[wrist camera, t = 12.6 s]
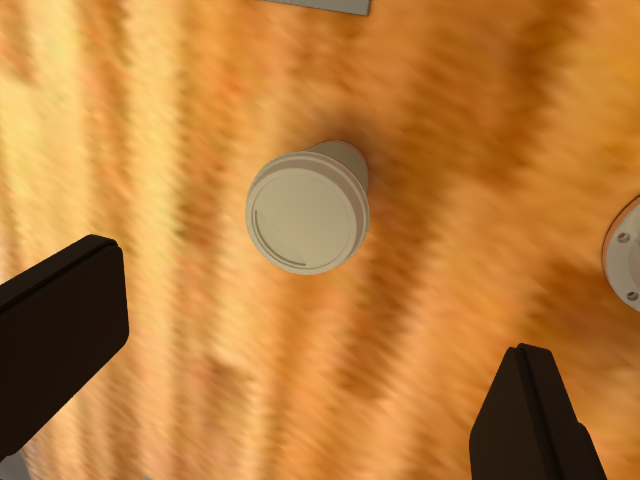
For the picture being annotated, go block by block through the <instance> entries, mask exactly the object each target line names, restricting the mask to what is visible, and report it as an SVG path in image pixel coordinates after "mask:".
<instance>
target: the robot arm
mask: <svg viewBox="0 0 640 480" xmlns="http://www.w3.org/2000/svg"><path fill="white" fill-rule="evenodd" d="M622 233H623V234H622ZM620 234H622V235H620ZM619 235H620V236H619ZM602 264H603V269H604V274H605V276H606V278H607V280H608V283H609V285H610V286H611V287H612V289H613V290H614V291H615V293H616V294H617V295H618V296H619V298H620V299H621V300H622V301H623V302H624V303H626V304H627V305H629V306H630V307H632V308H633V309H635V310H636V311H638V312H640V197H638V198H637V199H636V200H635V201H633V202H632V203H631V204H630V205H629V206H628V207H626V208H625V209H624V211H623V212H622V213H621V214H620V215H619V217H618V218H617V219H616V220H615V221H614V223H613V225H612V227H611V229H610V230H609V232H608V234H607V237H606V240H605V243H604V246H603V254H602ZM128 336H129V322H128V310H127V298H126V286H125V274H124V262H123V252H122V249H121V248H120V247H118V244H117V242H116V241H115V240H113V239H110V238H106V237H102V236H98V235H93V234H90V235H87V236H85V237H84V238H82V239H80V240H78V241H77V242H75V243H73V244H71V245H70V246H68V247H66V248H64V249H63V250H61V251H59V252H57V253H56V254H54V255H52V256H50V257H49V258H47V259H45V260H43V261H42V262H40V263H38V264H36V265H35V266H33V267H31V268H29V269H28V270H26V271H24V272H22V273H21V274H19V275H17V276H15V277H14V278H12V279H10V280H8V281H7V282H5V283H3V284H1V285H0V462H1V461H2V460H3V459H4V458H5V457H6V456H10V455H13V454H14V453H16V452H17V451H19V450H20V449H21V448H22V447H23V446H24V445H25V444H26V443H27V442H28V441H29V440H30V439H31V438H32V437H33V436H34V435H35V434H36V433H37V432H38V431H39V430H40V429H41V428H42V427H43V426H44V425H45V424H46V423H47V422H48V421H49V420H50V419H51V418H52V417H53V416H54V415H55V414H56V413H57V412H58V411H59V410H60V409H61V408H62V407H63V406H64V405H65V404H66V403H67V402H68V401H69V400H70V399H71V398H72V397H73V396H74V395H75V394H76V393H77V392H78V391H79V390H80V389H81V388H82V387H83V386H84V385H85V384H86V383H87V382H88V381H89V380H90V379H91V378H92V377H93V376H94V375H95V374H96V373H97V372H98V371H99V370H100V369H101V368H102V367H103V366H104V365H105V364H106V363H107V362H108V361H109V360H110V359H111V358H112V357H113V356H114V355H115V354H116V353H117V352H118V351H119V350H120V349H121V348H122V347H123V346H124V345H125V343H126V341H127V339H128ZM469 452H470V463H471V474H472V480H607V478H606V475H605V473H604V470H603V467H602V465H601V462H600V460H599V457H598V455H597V452H596V450H595V447H594V445H593V442H592V440H591V437H590V435H589V433H588V431H587V429H586V427H585V426H584V425H582V424H581V423H579V422H578V421H577V418H576V415H575V413H574V410H573V408H572V405H571V402H570V400H569V397H568V394H567V392H566V389H565V387H564V384H563V381H562V379H561V376H560V373H559V371H558V368H557V365H556V363H555V360H554V358H553V355H552V353H551V351H550V350H548V349H544V348H540V347H536V346H532V345H528V344H524V343H520V344H519V345H518V346H517V348H513V347H509V348H508V349H507V351H506V353H505V355H504V358H503V360H502V362H501V364H500V367H499V369H498V371H497V374H496V376H495V378H494V380H493V383H492V385H491V387H490V389H489V392H488V394H487V396H486V398H485V401H484V403H483V405H482V408H481V410H480V412H479V414H478V417H477V419H476V421H475V423H474V426H473V428H472V430H471V434H470V439H469ZM0 480H2V479H0Z"/></svg>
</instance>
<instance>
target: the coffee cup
mask: <svg viewBox="0 0 640 480" xmlns="http://www.w3.org/2000/svg"><path fill="white" fill-rule="evenodd" d="M368 178H369V170H368V165H367V162H366V159H365V158H364V156H363V154H362V153H361V152H360V151H359V150H358V149H357V148H356V147H355V146H353V145H352V144H350V143H348V142H345V141H341V140H329V141H325V142H323V143H320V144H318V145H315V146H313V147H310V148H308V149H306V150H303V151H301V152H291V153H287V154H284V155H281V156H279V157H277V158H275V159H273V160H271V161H270V162H269V163H267V164H266V165H265V166H264V167H263V168H262V169H261V170H260V171H259V173H258V174H257V175H256V177H255V179H254V181H253V182H252V184H251V186H250V189H249V192H248V195H247V201H246V213H245V215H246V225H247V229H248V233H249V235H250V238H251V240H252V242H253V243H254V245H255V247H256V248H257V249H258V251H259V252H260V253H261V254H262V255H263V256H264V257H265V258H266V259H267V260H268V261H270V262H271V263H272V264H274V265H275V266H277V267H279V268H281V269H283V270H285V271H288V272H291V273H295V274H301V275H314V274H320V273H324V272H326V271H329V270H331V269H333V268H336V267H338V266H340V265H342V264H343V263H345V262H346V261H347V260H349V259H350V258H351V257H352V256H353V255H354V254H355V253H356V252H357V250H358V249H359V248H360V246H361V245H362V243H363V242H364V240H365V237H366V235H367V232H368V228H369V222H370V211H369V204H368V200H367V193H368Z"/></svg>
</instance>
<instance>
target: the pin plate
mask: <svg viewBox="0 0 640 480" xmlns="http://www.w3.org/2000/svg"><path fill="white" fill-rule="evenodd" d="M265 1H272V2H278V3H285V4H291V5H298V6H304V7H311V8H318V9H324V10H331V11H337V12H344V13H350V14H357V15H363V16H369V10H370V4H371V0H265Z"/></svg>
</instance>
